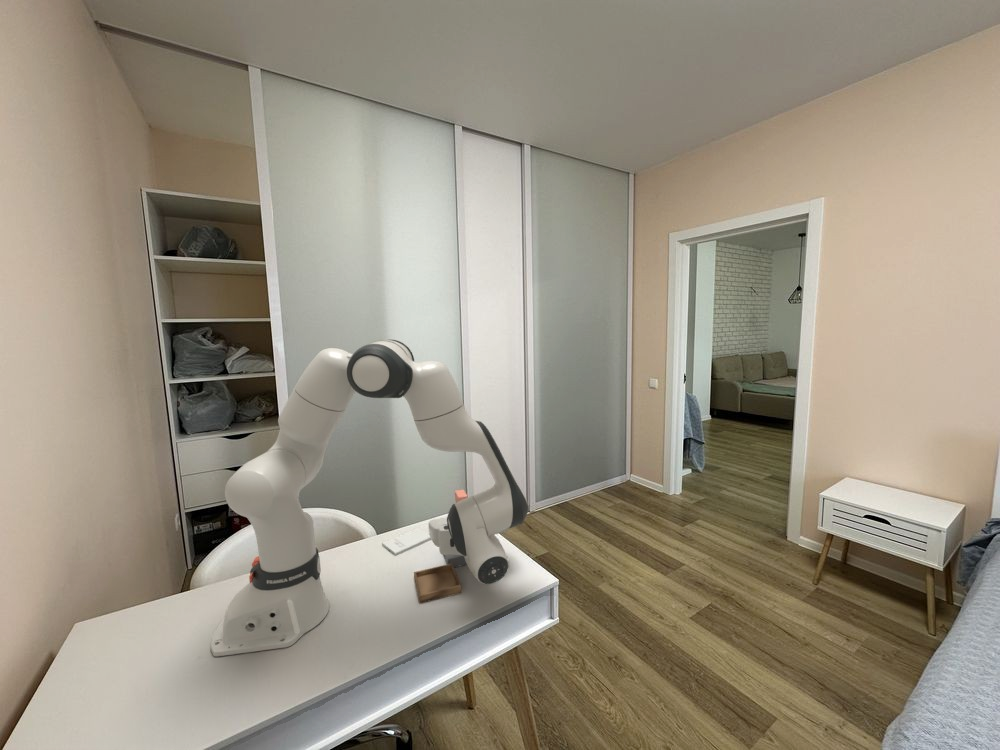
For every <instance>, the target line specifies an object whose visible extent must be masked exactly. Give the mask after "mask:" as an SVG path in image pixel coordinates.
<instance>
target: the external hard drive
mask: <svg viewBox="0 0 1000 750" xmlns="http://www.w3.org/2000/svg"><path fill="white" fill-rule="evenodd" d="M430 541H432V540H431V538H430V535H429V532H426V531H424V529H421V528H420V527H416V528H413V529H412V530H410V531H407V532H404V533H402V534H401V535H398V536H396V537H393V538H391V539H388V540H387V541H384V542H382V543H381V546H382V547H383V548H384V549H386V550H387V551H389V552H390V553H391V554H392V555H393V556H395V557H397V556H399V555H400V554H403V553H405V552H408V551H410V550H412V549H415V548H416V547H419V546H420V545H423V544H425V543H427V542H430Z"/></svg>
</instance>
